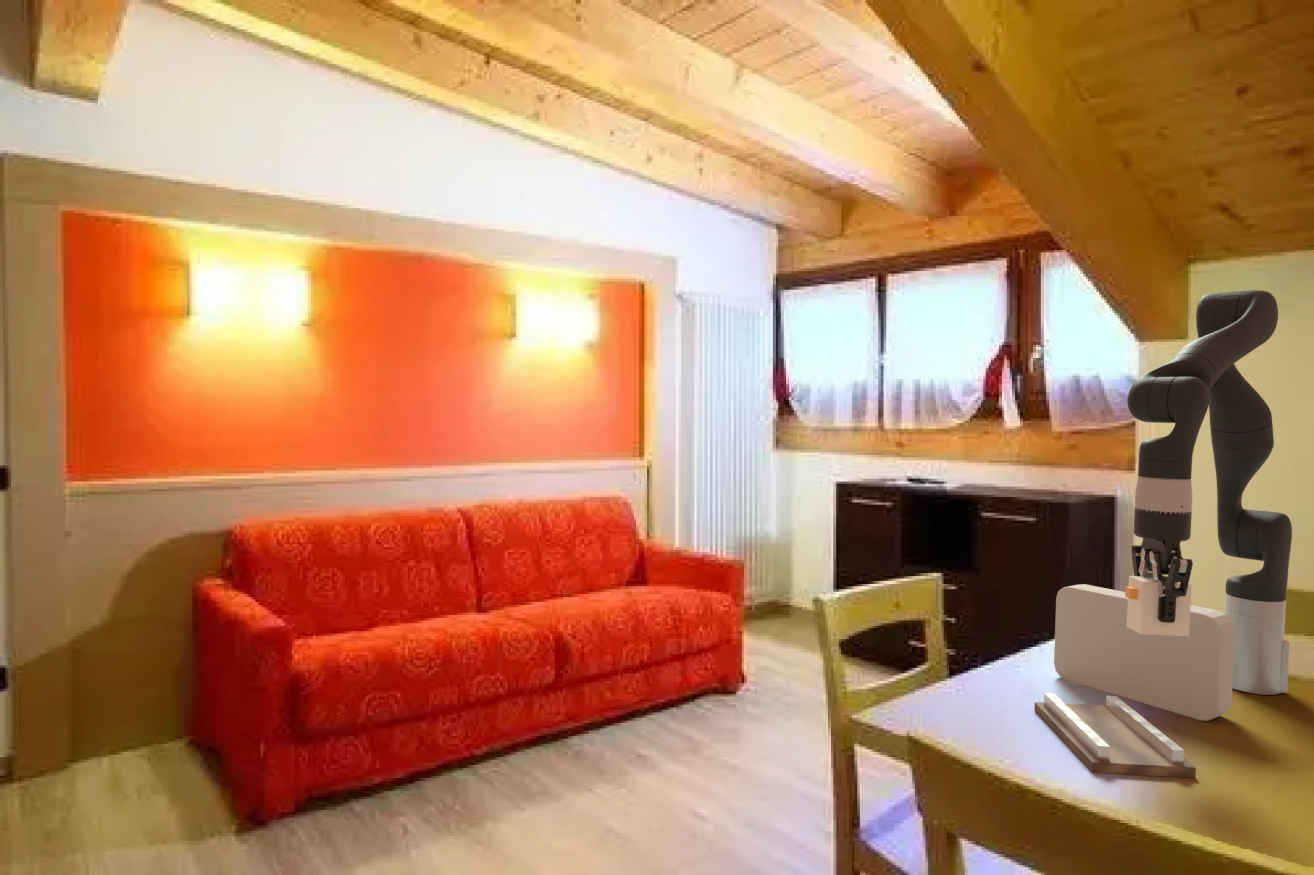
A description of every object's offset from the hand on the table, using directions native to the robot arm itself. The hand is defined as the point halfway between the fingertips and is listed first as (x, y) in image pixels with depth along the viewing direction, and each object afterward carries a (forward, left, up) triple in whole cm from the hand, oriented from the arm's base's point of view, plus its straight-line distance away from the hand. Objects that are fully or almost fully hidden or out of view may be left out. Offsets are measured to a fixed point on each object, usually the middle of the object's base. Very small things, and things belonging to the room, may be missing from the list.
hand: (1157, 617), depth 129 cm
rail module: (0, 0, -2) cm, 2 cm away
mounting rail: (+6, -1, -19) cm, 20 cm away
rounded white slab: (-8, -23, -20) cm, 31 cm away
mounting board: (+6, -1, -20) cm, 21 cm away
